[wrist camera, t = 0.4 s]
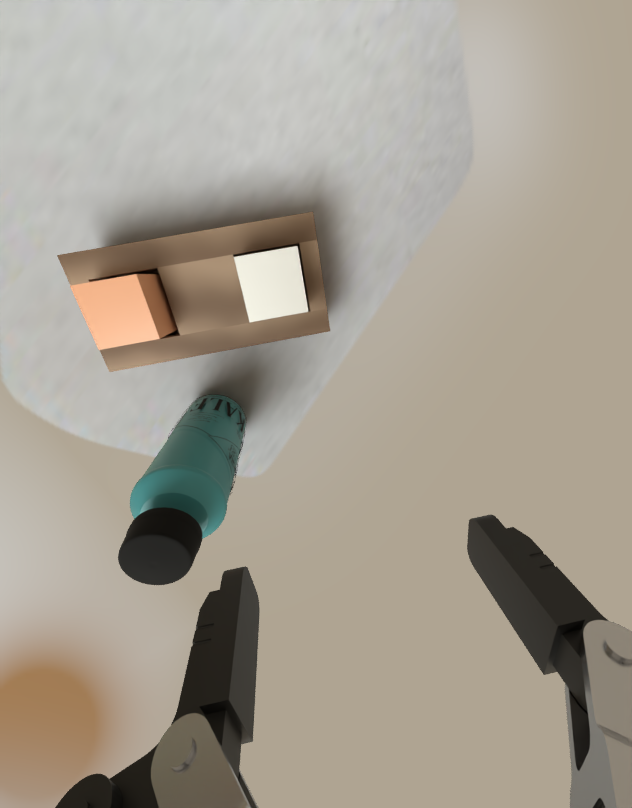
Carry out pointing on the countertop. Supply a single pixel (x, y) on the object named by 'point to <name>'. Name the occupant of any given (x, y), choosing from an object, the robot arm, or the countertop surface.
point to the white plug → (272, 283)
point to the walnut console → (208, 287)
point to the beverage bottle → (183, 492)
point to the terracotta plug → (125, 309)
